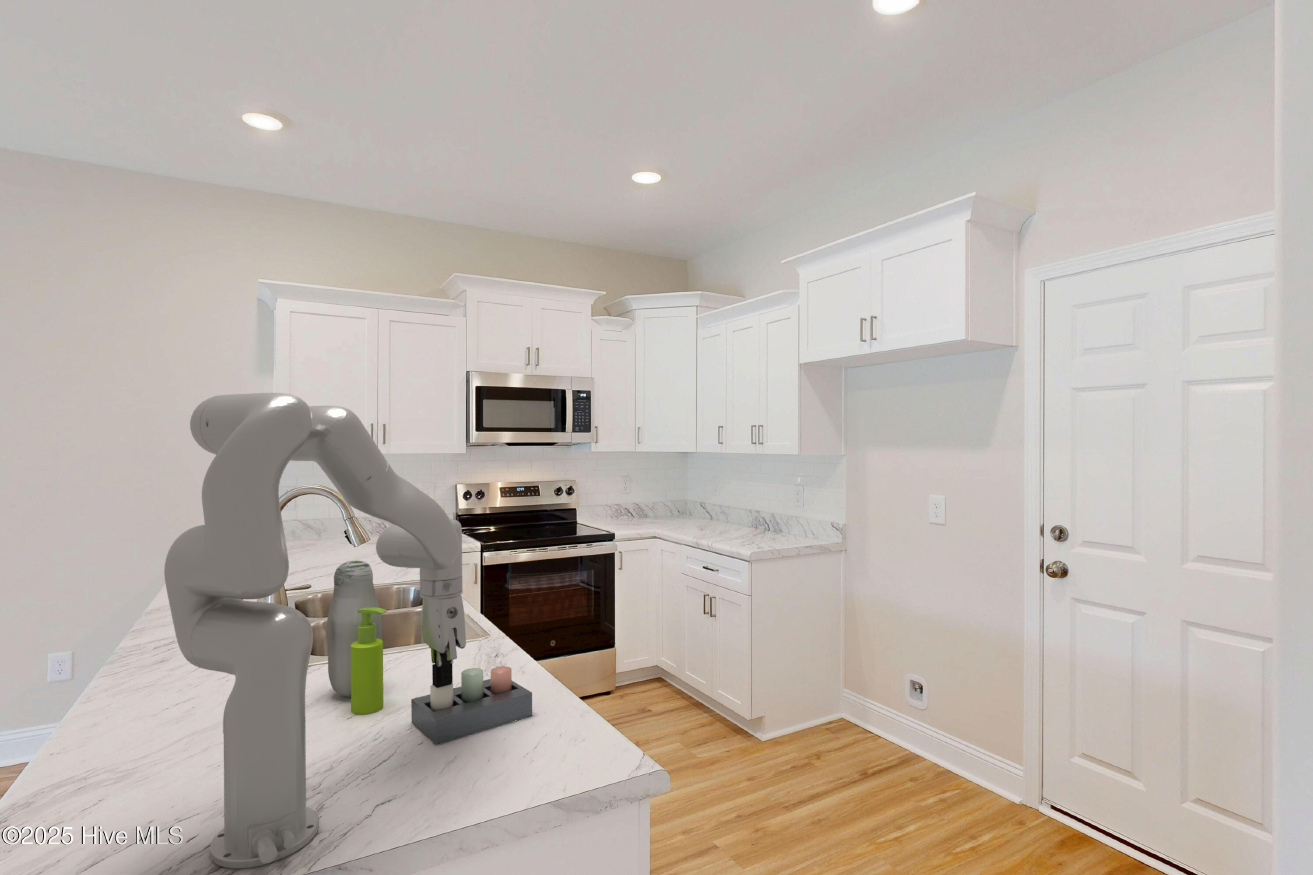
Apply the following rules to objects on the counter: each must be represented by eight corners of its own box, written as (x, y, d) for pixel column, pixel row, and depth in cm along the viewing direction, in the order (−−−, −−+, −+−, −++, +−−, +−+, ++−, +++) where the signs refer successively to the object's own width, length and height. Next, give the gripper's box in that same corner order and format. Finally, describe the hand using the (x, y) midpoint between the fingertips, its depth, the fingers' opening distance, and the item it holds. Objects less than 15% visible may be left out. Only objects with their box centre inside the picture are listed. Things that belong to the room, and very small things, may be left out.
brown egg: (515, 695, 131) (515, 670, 131) (496, 700, 128) (496, 675, 128) (505, 689, 134) (505, 664, 134) (487, 694, 132) (487, 669, 132)
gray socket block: (532, 715, 129) (532, 692, 129) (435, 745, 117) (435, 719, 117) (503, 697, 138) (503, 675, 138) (411, 722, 126) (411, 699, 126)
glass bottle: (352, 682, 147) (351, 555, 146) (391, 688, 143) (390, 558, 143) (317, 700, 137) (316, 564, 137) (357, 705, 134) (356, 566, 134)
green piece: (486, 698, 127) (486, 672, 127) (466, 703, 125) (466, 677, 125) (477, 692, 130) (477, 666, 130) (458, 697, 128) (457, 671, 128)
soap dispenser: (376, 716, 129) (375, 613, 129) (344, 713, 130) (343, 611, 130) (394, 704, 135) (393, 605, 135) (363, 701, 136) (362, 603, 136)
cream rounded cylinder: (456, 712, 123) (456, 685, 123) (435, 718, 121) (435, 691, 121) (448, 706, 126) (447, 679, 126) (427, 711, 124) (427, 684, 124)
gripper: (477, 590, 120) (479, 691, 120) (445, 576, 132) (446, 669, 132) (437, 597, 115) (438, 702, 116) (406, 582, 127) (408, 678, 127)
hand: (442, 684), depth 124 cm, fingers closed
